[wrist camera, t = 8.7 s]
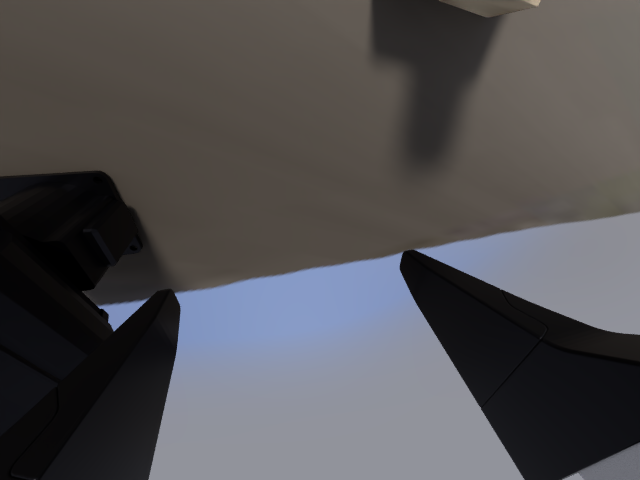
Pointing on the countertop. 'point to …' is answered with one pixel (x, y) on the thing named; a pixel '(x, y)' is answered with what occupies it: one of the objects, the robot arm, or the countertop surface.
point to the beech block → (492, 6)
